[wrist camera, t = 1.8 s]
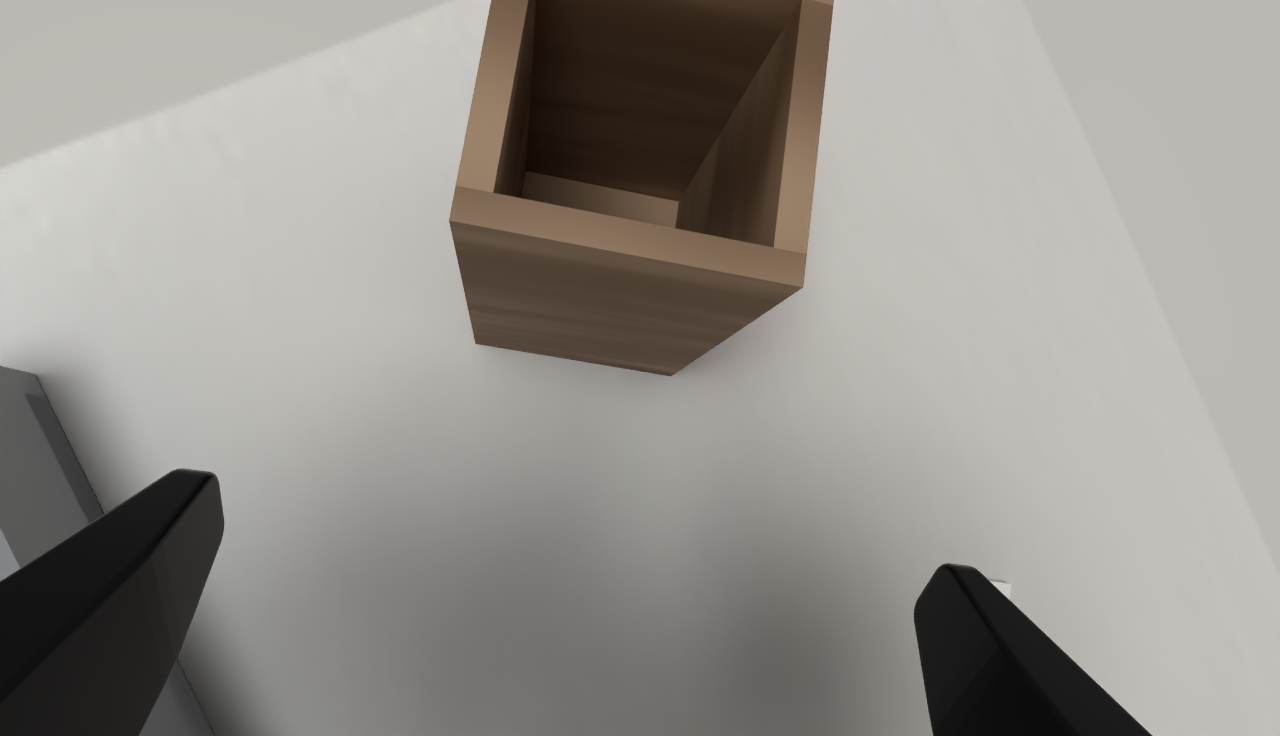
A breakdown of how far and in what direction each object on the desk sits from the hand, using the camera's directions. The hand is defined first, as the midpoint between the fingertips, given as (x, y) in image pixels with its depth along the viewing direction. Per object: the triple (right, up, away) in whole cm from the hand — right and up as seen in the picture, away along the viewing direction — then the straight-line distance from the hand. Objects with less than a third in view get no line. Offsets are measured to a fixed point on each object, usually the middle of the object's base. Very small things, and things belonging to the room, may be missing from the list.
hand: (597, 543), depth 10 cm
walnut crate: (-1, +5, +14) cm, 15 cm away
